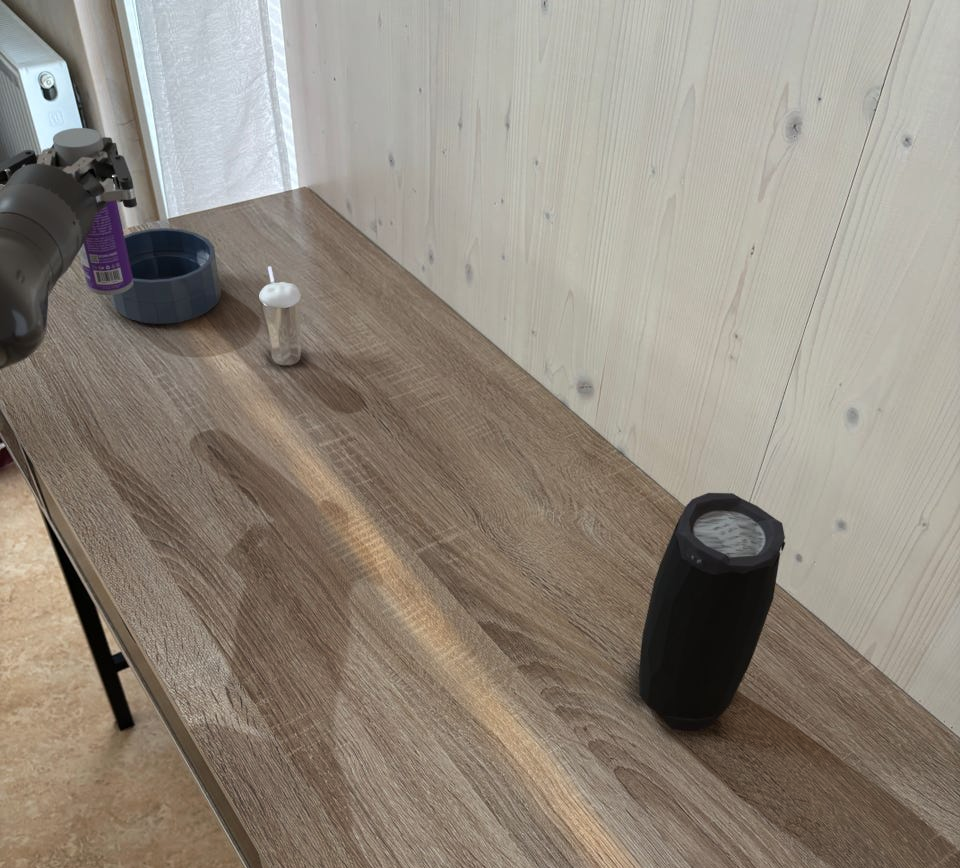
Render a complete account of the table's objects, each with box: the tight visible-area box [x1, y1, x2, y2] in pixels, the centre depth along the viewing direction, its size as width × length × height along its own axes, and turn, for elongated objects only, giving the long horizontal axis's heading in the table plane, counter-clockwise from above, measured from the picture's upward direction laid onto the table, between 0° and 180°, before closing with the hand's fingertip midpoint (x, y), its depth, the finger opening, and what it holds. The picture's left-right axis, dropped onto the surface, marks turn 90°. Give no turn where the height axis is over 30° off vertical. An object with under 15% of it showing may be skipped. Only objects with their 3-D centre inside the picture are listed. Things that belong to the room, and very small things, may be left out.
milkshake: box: [258, 265, 302, 367], centre depth 119 cm, size 4×5×10 cm
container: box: [52, 127, 133, 296], centre depth 105 cm, size 5×5×15 cm
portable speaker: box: [638, 492, 786, 732], centre depth 83 cm, size 9×9×20 cm
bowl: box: [109, 227, 222, 325], centre depth 128 cm, size 13×13×6 cm
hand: (89, 146), depth 103 cm, fingers closed on container, 3 cm apart
